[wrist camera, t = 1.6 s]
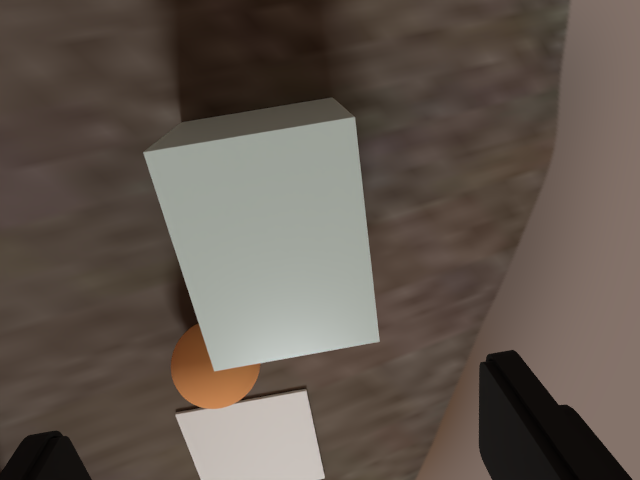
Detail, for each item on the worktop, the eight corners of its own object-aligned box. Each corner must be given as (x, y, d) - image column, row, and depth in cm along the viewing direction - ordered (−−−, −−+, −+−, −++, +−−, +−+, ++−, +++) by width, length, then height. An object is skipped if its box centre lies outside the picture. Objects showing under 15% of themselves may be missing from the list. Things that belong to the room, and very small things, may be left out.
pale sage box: (181, 122, 21) (143, 152, 15) (332, 97, 22) (355, 116, 15) (228, 293, 26) (214, 371, 20) (354, 271, 26) (379, 341, 20)
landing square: (175, 412, 29) (175, 414, 29) (306, 388, 29) (306, 390, 29) (209, 497, 33) (208, 500, 33) (324, 476, 33) (324, 478, 33)
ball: (170, 309, 26) (148, 365, 21) (252, 295, 26) (247, 347, 21) (193, 373, 28) (177, 436, 23) (268, 359, 28) (267, 420, 23)
